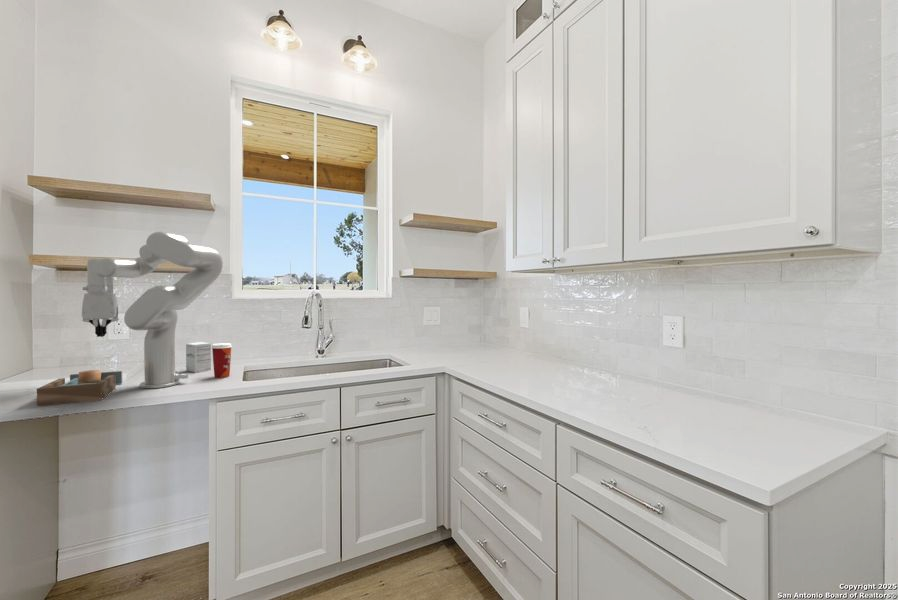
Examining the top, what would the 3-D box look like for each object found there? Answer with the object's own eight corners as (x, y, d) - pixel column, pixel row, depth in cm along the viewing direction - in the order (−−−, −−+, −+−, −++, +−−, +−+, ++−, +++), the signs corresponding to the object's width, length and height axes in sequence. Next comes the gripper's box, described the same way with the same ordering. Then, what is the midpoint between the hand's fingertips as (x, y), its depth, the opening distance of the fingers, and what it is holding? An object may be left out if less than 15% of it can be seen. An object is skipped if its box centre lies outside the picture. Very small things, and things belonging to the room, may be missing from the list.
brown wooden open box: (59, 394, 137) (58, 378, 136) (115, 389, 144) (115, 374, 143) (37, 406, 123) (36, 388, 123) (100, 400, 130) (100, 383, 130)
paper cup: (231, 377, 164) (231, 344, 164) (210, 379, 161) (210, 345, 161) (232, 373, 171) (232, 342, 171) (212, 375, 168) (212, 343, 168)
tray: (71, 387, 145) (71, 374, 145) (122, 383, 152) (122, 370, 152) (53, 396, 132) (52, 383, 132) (109, 392, 139) (109, 378, 139)
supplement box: (185, 371, 176) (185, 343, 176) (202, 368, 183) (202, 341, 182) (194, 372, 173) (194, 344, 172) (211, 369, 179) (211, 342, 179)
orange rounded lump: (102, 385, 146) (102, 369, 146) (98, 388, 140) (98, 372, 140) (81, 387, 142) (81, 370, 142) (76, 390, 137) (76, 373, 137)
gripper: (71, 289, 145) (71, 338, 146) (121, 290, 152) (122, 336, 153) (79, 289, 152) (79, 336, 152) (127, 290, 159) (127, 334, 159)
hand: (100, 336), depth 152 cm, fingers closed
